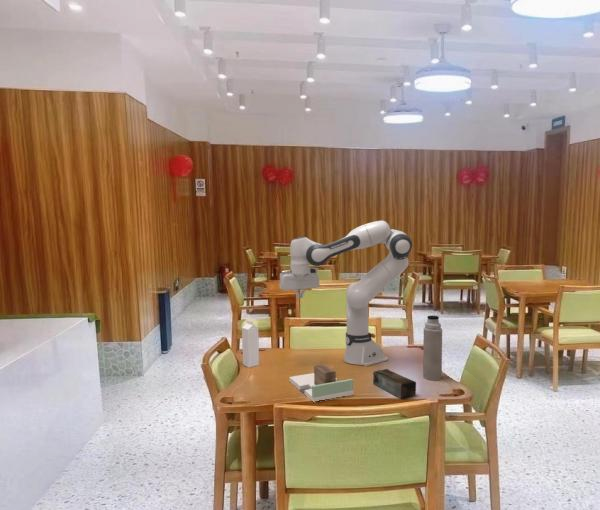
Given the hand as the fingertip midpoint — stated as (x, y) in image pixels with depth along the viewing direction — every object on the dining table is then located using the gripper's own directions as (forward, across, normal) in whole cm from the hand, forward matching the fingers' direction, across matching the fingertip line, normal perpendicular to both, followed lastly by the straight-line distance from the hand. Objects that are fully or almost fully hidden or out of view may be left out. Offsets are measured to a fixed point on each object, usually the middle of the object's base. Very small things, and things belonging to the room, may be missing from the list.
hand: (299, 297), depth 218 cm
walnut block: (+31, -5, -37) cm, 49 cm away
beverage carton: (+34, +22, -48) cm, 62 cm away
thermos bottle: (+33, +46, -43) cm, 71 cm away
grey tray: (+33, -5, -32) cm, 47 cm away
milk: (+33, -23, +9) cm, 41 cm away
